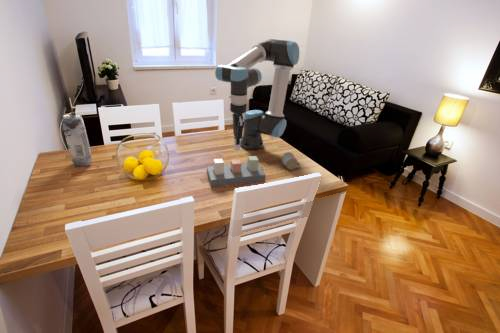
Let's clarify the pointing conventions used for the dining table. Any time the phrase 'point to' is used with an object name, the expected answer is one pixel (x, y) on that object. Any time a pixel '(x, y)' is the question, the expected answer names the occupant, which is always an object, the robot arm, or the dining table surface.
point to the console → (235, 176)
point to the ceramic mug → (290, 161)
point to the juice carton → (77, 140)
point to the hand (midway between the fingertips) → (237, 149)
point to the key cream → (218, 166)
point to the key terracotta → (235, 166)
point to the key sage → (252, 164)
